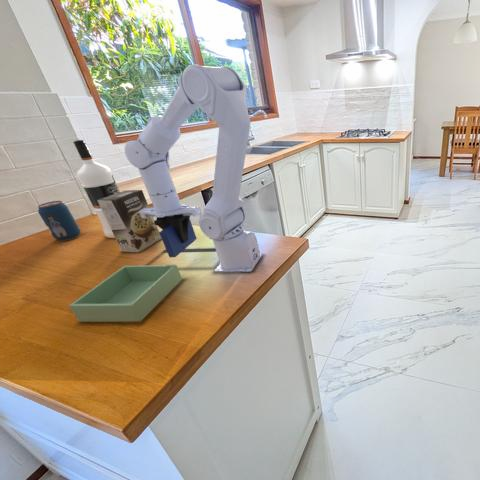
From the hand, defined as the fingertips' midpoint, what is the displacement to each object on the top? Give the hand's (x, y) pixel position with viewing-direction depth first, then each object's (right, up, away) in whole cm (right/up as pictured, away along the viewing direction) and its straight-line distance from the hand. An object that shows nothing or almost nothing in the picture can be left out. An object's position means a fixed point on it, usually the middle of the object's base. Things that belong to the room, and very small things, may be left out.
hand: (181, 241), depth 76 cm
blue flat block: (0, -2, +1) cm, 2 cm away
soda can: (-50, +1, +22) cm, 55 cm away
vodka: (-32, +3, +22) cm, 39 cm away
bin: (-3, -13, -12) cm, 18 cm away
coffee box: (-19, -1, +12) cm, 23 cm away
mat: (0, -5, +3) cm, 6 cm away
